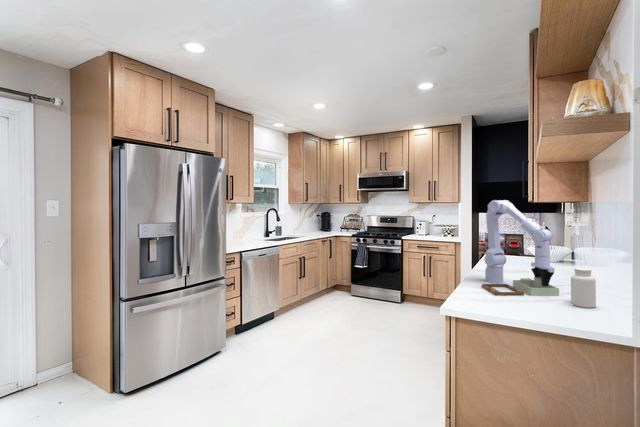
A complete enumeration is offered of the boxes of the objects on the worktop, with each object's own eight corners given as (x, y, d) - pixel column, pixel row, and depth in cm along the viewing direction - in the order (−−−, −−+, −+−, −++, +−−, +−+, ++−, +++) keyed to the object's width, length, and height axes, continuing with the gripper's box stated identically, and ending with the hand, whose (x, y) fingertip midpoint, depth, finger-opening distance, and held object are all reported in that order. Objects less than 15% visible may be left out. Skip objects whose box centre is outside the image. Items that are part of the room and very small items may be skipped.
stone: (534, 287, 154) (534, 277, 154) (543, 287, 154) (542, 277, 154) (539, 289, 150) (539, 279, 150) (548, 289, 150) (548, 278, 150)
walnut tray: (481, 287, 164) (481, 283, 164) (506, 288, 163) (506, 284, 163) (496, 296, 148) (496, 292, 148) (523, 296, 147) (523, 292, 147)
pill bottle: (569, 301, 140) (569, 266, 139) (593, 304, 135) (593, 268, 135) (572, 306, 133) (572, 269, 132) (597, 309, 129) (597, 271, 128)
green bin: (512, 288, 163) (512, 280, 163) (538, 288, 162) (538, 280, 162) (530, 296, 147) (530, 288, 147) (559, 297, 146) (559, 288, 146)
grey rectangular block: (520, 288, 160) (520, 278, 159) (529, 288, 159) (529, 278, 159) (524, 290, 156) (524, 280, 155) (533, 290, 155) (533, 280, 155)
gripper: (524, 253, 159) (524, 281, 159) (542, 258, 145) (542, 288, 145) (539, 253, 159) (539, 281, 159) (559, 258, 144) (559, 288, 144)
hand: (542, 284), depth 152 cm, fingers closed on stone, 4 cm apart
